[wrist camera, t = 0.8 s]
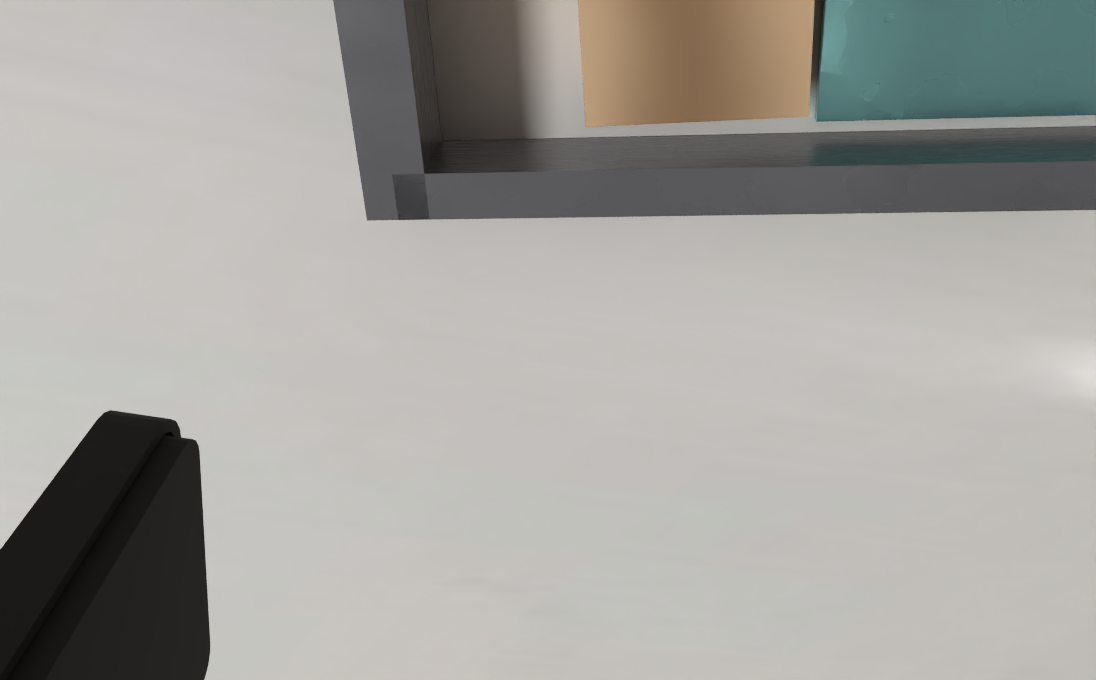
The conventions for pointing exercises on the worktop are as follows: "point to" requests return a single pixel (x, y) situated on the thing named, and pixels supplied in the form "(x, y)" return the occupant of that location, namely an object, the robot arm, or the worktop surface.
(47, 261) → the worktop surface
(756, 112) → the tan cardboard box
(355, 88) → the bay
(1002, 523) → the worktop surface
